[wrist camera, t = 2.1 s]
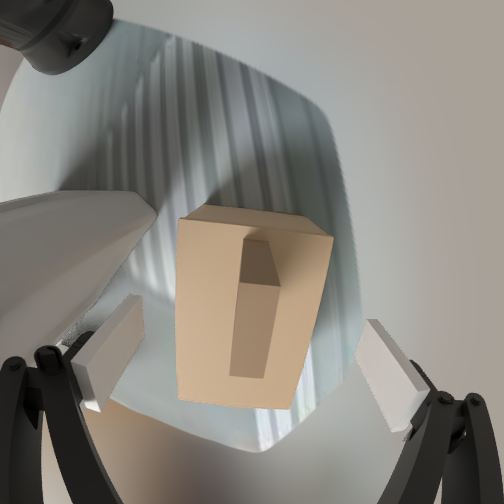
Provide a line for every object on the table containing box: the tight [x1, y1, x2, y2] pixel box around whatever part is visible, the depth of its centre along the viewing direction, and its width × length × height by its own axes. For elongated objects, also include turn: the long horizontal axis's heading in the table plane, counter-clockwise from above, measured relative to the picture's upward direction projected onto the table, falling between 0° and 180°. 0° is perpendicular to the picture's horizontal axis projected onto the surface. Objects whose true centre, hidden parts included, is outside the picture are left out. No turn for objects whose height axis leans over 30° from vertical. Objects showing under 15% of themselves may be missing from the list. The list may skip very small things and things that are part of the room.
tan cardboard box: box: [175, 217, 334, 409], centre depth 20 cm, size 20×13×10 cm, turn 173°
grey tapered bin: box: [0, 190, 157, 370], centre depth 19 cm, size 19×15×28 cm
